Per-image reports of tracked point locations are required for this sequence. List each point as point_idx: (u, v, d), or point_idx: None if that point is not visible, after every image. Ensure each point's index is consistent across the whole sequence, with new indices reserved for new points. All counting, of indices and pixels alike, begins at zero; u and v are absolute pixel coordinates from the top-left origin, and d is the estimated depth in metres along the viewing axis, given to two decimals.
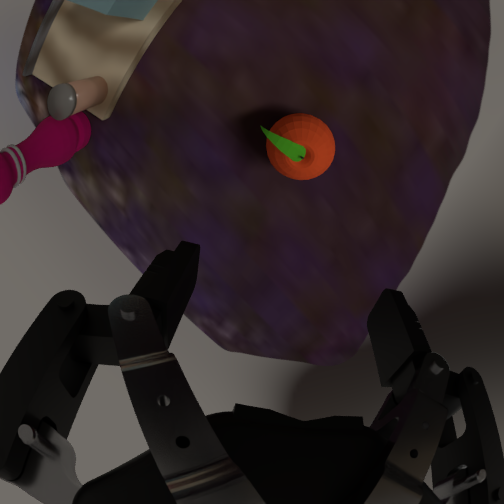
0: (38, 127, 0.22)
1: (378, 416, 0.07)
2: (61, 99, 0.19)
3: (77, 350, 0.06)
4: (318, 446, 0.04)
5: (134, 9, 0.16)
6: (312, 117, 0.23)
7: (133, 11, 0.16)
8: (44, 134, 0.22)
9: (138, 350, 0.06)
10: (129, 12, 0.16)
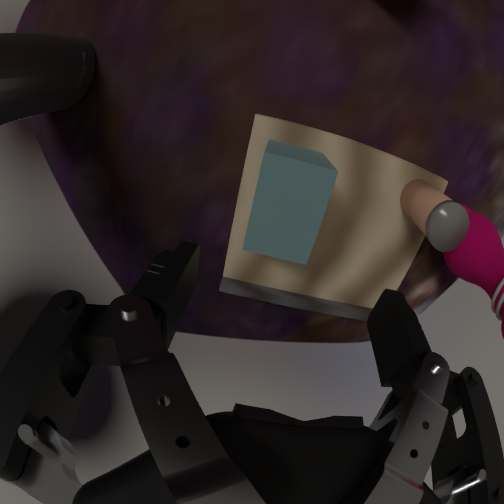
0: (465, 268, 0.20)
1: (378, 416, 0.07)
2: (447, 224, 0.17)
3: (77, 350, 0.06)
4: (318, 446, 0.04)
5: (314, 155, 0.19)
6: None
7: (318, 156, 0.19)
8: (476, 254, 0.18)
9: (138, 350, 0.06)
10: (320, 158, 0.19)
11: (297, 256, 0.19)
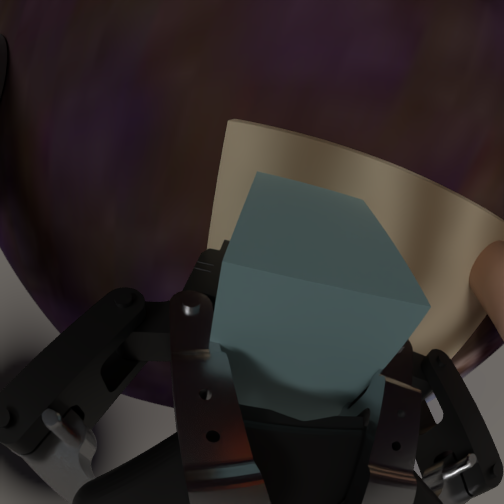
0: None
1: (346, 404, 0.07)
2: None
3: (125, 348, 0.07)
4: (318, 446, 0.04)
5: (357, 221, 0.09)
6: None
7: (364, 223, 0.08)
8: None
9: (192, 344, 0.06)
10: (372, 231, 0.08)
11: None
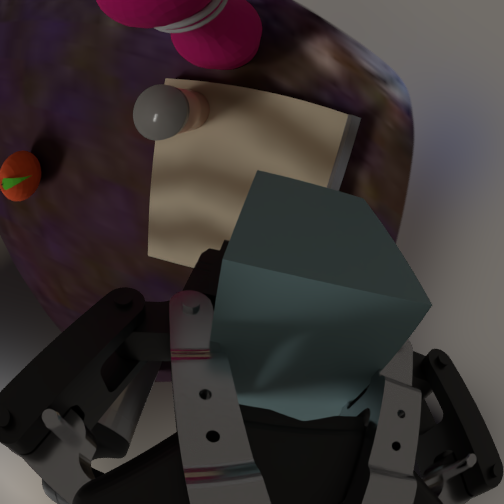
0: (221, 48, 0.15)
1: (346, 404, 0.07)
2: (154, 118, 0.17)
3: (126, 348, 0.07)
4: (318, 446, 0.04)
5: (357, 220, 0.09)
6: (23, 199, 0.26)
7: (365, 221, 0.08)
8: (192, 46, 0.14)
9: (192, 344, 0.06)
10: (372, 230, 0.08)
11: None
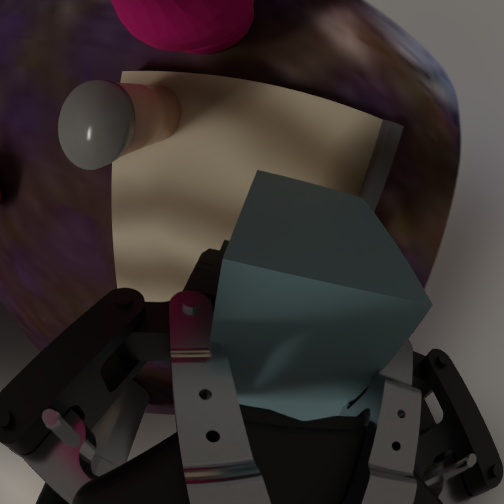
0: (185, 14, 0.07)
1: (346, 404, 0.07)
2: (84, 135, 0.10)
3: (126, 348, 0.07)
4: (318, 446, 0.04)
5: (357, 219, 0.08)
6: None
7: (365, 221, 0.08)
8: (139, 16, 0.07)
9: (192, 344, 0.06)
10: (372, 230, 0.08)
11: None
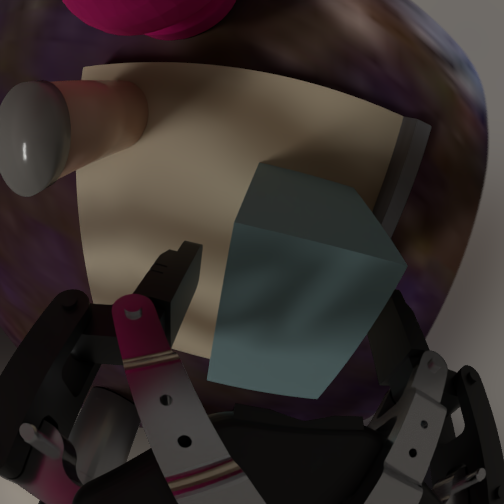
0: None
1: (376, 415, 0.07)
2: (16, 153, 0.06)
3: (80, 349, 0.06)
4: (318, 446, 0.04)
5: (345, 202, 0.10)
6: None
7: (352, 204, 0.10)
8: None
9: (142, 349, 0.06)
10: (358, 211, 0.09)
11: (303, 391, 0.10)
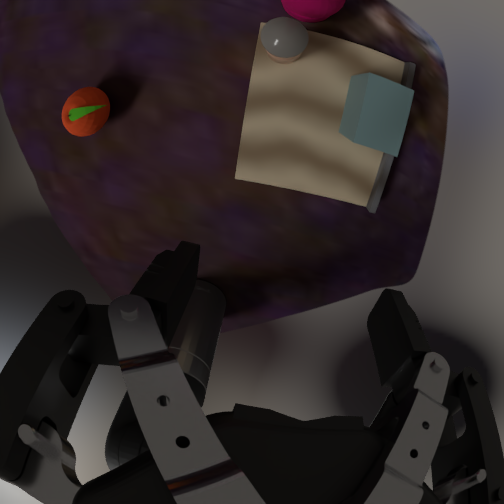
0: (328, 1, 0.16)
1: (378, 416, 0.07)
2: (281, 40, 0.18)
3: (77, 350, 0.06)
4: (318, 446, 0.04)
5: None
6: (90, 134, 0.28)
7: None
8: None
9: (138, 350, 0.06)
10: None
11: (391, 149, 0.22)
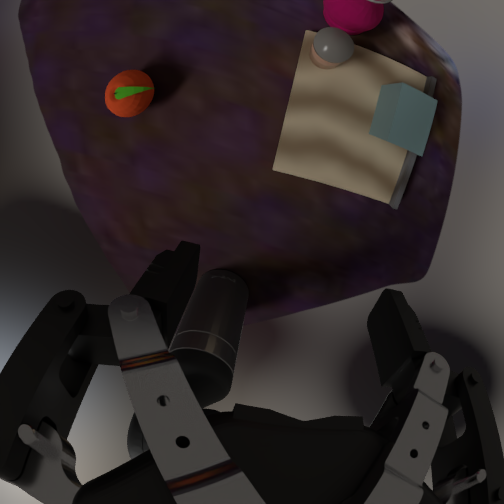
0: (369, 18, 0.18)
1: (378, 416, 0.07)
2: (331, 47, 0.20)
3: (77, 350, 0.06)
4: (318, 446, 0.04)
5: None
6: (132, 115, 0.30)
7: None
8: (354, 12, 0.18)
9: (138, 350, 0.06)
10: None
11: (417, 149, 0.24)
